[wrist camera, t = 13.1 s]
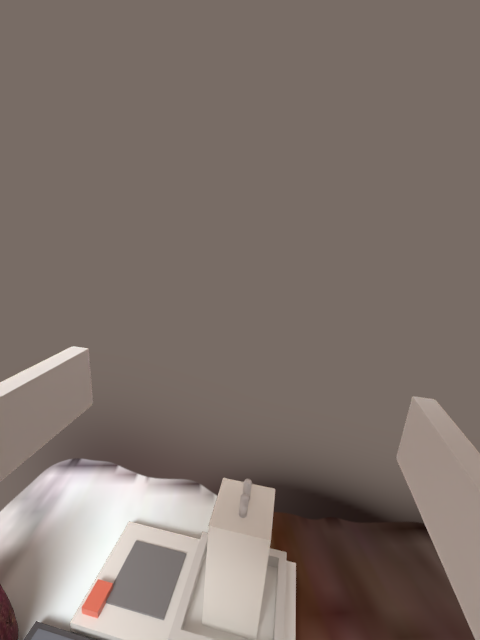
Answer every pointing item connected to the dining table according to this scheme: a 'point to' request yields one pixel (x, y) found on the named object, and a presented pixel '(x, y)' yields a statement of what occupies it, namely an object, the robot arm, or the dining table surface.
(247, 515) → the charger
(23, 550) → the dining table surface
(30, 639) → the phone
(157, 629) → the white base tray
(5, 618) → the vegetable
